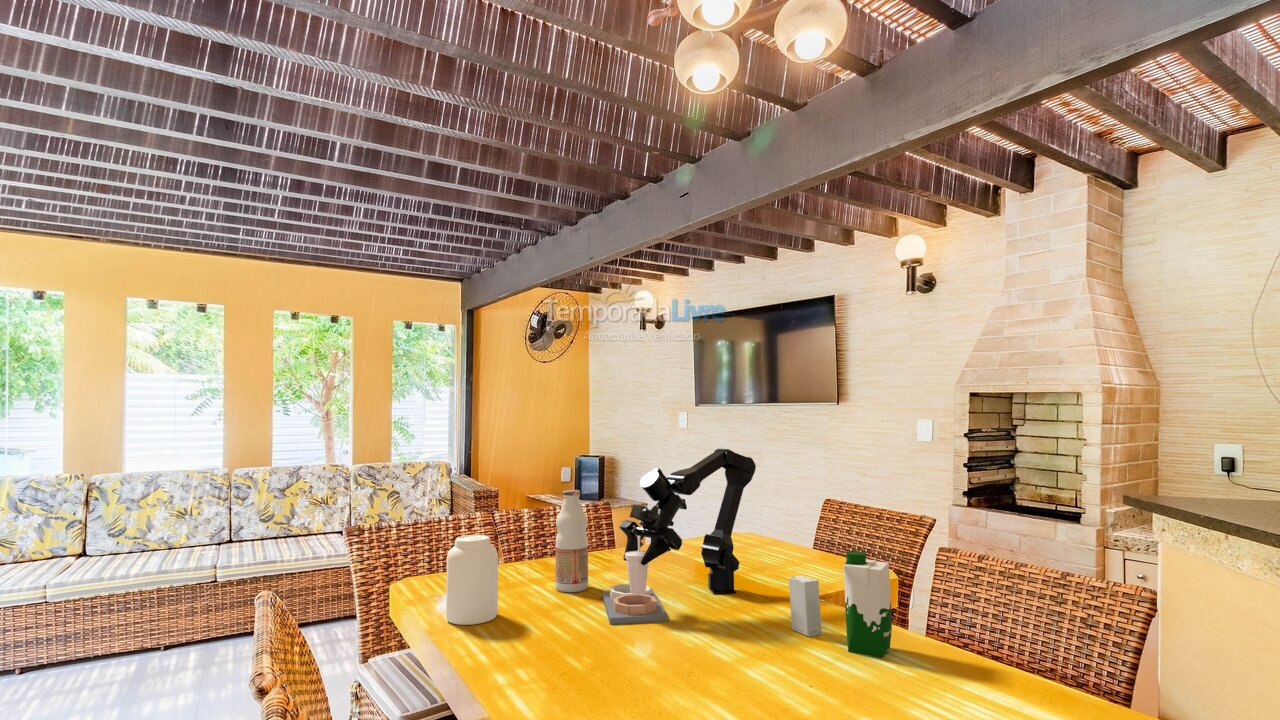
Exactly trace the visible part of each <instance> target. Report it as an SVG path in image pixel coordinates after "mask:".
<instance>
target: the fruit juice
mask: <svg viewBox="0 0 1280 720" xmlns="http://www.w3.org/2000/svg"><path fill="white" fill-rule="evenodd" d="M580 491H581V490H579V489H567V490H563V492H562V495H563V502H562V504H561V508H560V511H559V513H558V515H557V517H556V519H555V525H556V530H557V534H556V537H555V588H556V590H557V591H559V592H561V593H577V592H583V591H586V590H587V589H588V586H589V539H588V534H587V526H588V518H587V514H585V511H584V509H583V506H582V503H581V500H580V496H581V492H580Z"/></svg>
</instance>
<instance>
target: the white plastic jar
mask: <svg viewBox="0 0 1280 720" xmlns="http://www.w3.org/2000/svg"><path fill="white" fill-rule="evenodd" d="M498 568H499V555H498V551H497V548H496V547H495V546H494V545H493V544H492V543H491V538H490V537H489V535H485V534H467V535H461V536H458V537H456V538H455V541H454V546H453V547H451V549H449V550H448V551H447V556H446V581H445V583H446V585H445V586H446V589H445V590H446V592H445V594H446V596H445V599H446V600H445V601H446V602H445V617H446V620H447V622H448V623H450V624H454V625H460V626H472V625H480V624H485V623H487V622H489V621H493V620H494V619H496V617H497V616H498V612H499V608H498V607H499V606H498V603H499V596H498V595H499V591H498V590H499V580H498V579H499V569H498Z"/></svg>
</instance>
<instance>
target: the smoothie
mask: <svg viewBox="0 0 1280 720" xmlns="http://www.w3.org/2000/svg"><path fill="white" fill-rule="evenodd" d="M646 551H647V550H641V548H640V536H638V551H630V552H626V553H625V552H624V553H625V558H626V561H625V562H626V566H627V567H626V568H627V574H628V575H627V576H628V581H629V582H628V583H630V590H631V593H632V594H644V593H645V592H646V585H647V581H648V579H647V578H648V570H649V569H648V568H649V563H647V564H646V565H644V566H643V565H642V564H641V561H642V558H643V556H644V555H645V553H646Z"/></svg>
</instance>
